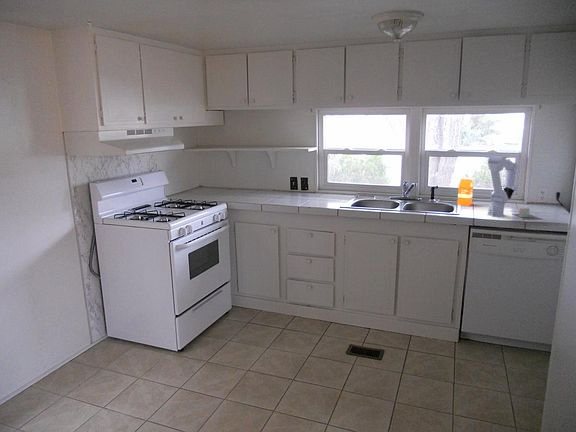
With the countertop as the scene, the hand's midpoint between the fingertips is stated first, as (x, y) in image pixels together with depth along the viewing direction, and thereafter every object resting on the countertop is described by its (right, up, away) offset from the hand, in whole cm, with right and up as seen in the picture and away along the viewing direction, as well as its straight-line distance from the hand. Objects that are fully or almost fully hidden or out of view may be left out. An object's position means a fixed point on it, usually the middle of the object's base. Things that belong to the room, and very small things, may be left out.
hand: (508, 198), depth 315 cm
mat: (+6, -14, -13) cm, 20 cm away
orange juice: (-19, -4, +32) cm, 37 cm away
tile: (+4, -14, -14) cm, 20 cm away
